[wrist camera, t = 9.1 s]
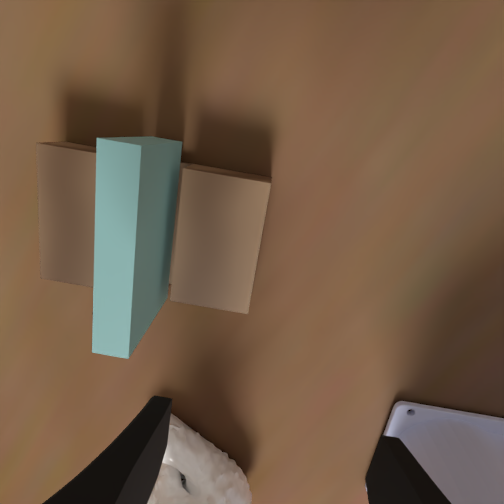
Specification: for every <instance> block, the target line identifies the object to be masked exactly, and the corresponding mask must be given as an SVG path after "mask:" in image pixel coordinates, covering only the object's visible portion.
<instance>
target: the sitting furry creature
mask: <svg viewBox="0 0 504 504" xmlns="http://www.w3.org/2000/svg"><path fill="white" fill-rule="evenodd" d="M181 478H183V479H186V480H183V481H182V482H181ZM251 499H252V493H251V492H250V491H249V484H248V483H247V478H246V476H245V475H244V473H243V472H242V469H241V468H240V467H238V466H237V465H236V462H235V460H233V459H230V458H228V454H227V453H225V452H222V451H221V450H220V449H218V448H216V447H215V446H214V444H213V443H211V442H209V441H207V440H206V439H204V438H203V437H202V436H200V434H199V432H195V431H194V430H193V429H191V428H190V427H189V426H187V425H186V424H185V423H183V422H182V421H181V420H180V419H179V418H178V417H176V416H174V415H173V414H171V416H170V425H169V434H168V443H167V447H166V451H165V454H164V458H163V461H162V465H161V468H160V471H159V475H158V478H157V480H156V483H155V485H154V488H153V490H152V493H151V495H150V498H149V500H148V503H147V504H251V503H252V502H251Z"/></svg>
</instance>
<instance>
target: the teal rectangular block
mask: <svg viewBox="0 0 504 504" xmlns="http://www.w3.org/2000/svg"><path fill="white" fill-rule="evenodd" d="M181 151H182V142H181V141H175V140H169V139H164V138H158V137H152V136H148V137H111V138H97V146H96V194H95V241H94V289H93V336H92V353H98V354H104V355H109V356H115V357H121V358H127V359H129V357H130V356H131V354H132V352H133V351H134V349H135V348H136V346H137V345H138V343H139V341H140V340H141V338H142V337H143V335H144V334H145V332H146V331H147V329H148V327H149V326H150V324H151V323H152V321H153V320H154V318H155V316H156V315H157V313H158V312H159V310H160V309H161V307H162V305H163V304H164V302H165V301H166V299H167V296H168V285H169V275H170V265H171V254H172V244H173V234H174V223H175V213H176V203H177V192H178V182H179V171H180V161H181Z"/></svg>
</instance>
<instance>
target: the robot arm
mask: <svg viewBox="0 0 504 504" xmlns="http://www.w3.org/2000/svg"><path fill="white" fill-rule="evenodd" d="M171 407H172V399H171V398H165V397H159V396H153V397H152V398H151V399H150V400H149V401H148V403H147V404H146V405H145V407H144V408H143V409H142V410H141V411H140V413H139V414H138V415H137V416H136V417H135V418H134V419H133V421H132V422H131V423H130V424H129V425H128V426H127V427H126V428H125V429H124V430H123V432H122V433H121V434H120V435H119V436H118V437H117V438H116V439H115V440H114V441H113V442H112V443H111V444H110V445H109V446H108V447H107V448H106V449H105V450H104V451H103V452H102V453H101V454H100V455H99V456H98V457H97V458H96V459H95V460H94V461H92V462H91V463H90V464H89V465H88V466H87V467H86V468H85V469H84V470H83V471H82V472H80V473H79V474H78V475H77V476H76V477H75V478H74V479H72V480H71V481H70V482H69V483H68V484H66V485H65V486H64V487H63V488H62V489H60V490H59V491H58V492H57V493H55V494H54V495H53V496H52V497H50V498H49V499H48V500H46V501H45V502H44V503H42V504H147V503H148V500H149V498H150V495H151V493H152V490H153V488H154V485H155V483H156V480H157V478H158V475H159V471H160V468H161V465H162V461H163V458H164V454H165V451H166V447H167V443H168V434H169V425H170V416H171ZM410 409H412V410H411V411H408V410H410ZM365 480H366V483H365V488H366V491H367V494H368V500H369V504H504V418H499V417H493V416H487V415H481V414H475V413H470V412H464V411H458V410H452V409H447V408H441V407H435V406H429V405H423V404H418V403H412V402H406V401H399V402H397V403H395V405H394V407H393V409H392V412H391V415H390V418H389V420H388V423H387V426H386V429H385V431H384V434H383V435H381V437H380V440H379V443H378V445H377V448H376V451H375V454H374V456H373V459H372V462H371V465H370V468H369V470H368V473H367V476H366V479H365Z"/></svg>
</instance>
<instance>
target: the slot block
mask: <svg viewBox="0 0 504 504" xmlns="http://www.w3.org/2000/svg"><path fill="white" fill-rule="evenodd" d="M36 158H37V187H38V216H39V245H40V274H41V279H47V280H53V281H58V282H64V283H70V284H76V285H82V286H87V287H93V288H94V241H95V194H96V147H94V146H88V145H82V144H76V143H70V142H45V143H36ZM270 187H271V177H267V176H262V175H256V174H250V173H244V172H238V171H233V170H227V169H221V168H215V167H209V166H204V165H198V164H192V163H186V162H180V171H179V182H178V192H177V203H176V213H175V223H174V234H173V244H172V254H171V265H170V275H169V284H172V286H171V296H170V301H174V302H180V303H186V304H192V305H197V306H203V307H209V308H215V309H221V310H226V311H232V312H238V313H244V314H248V310H249V304H250V299H251V293H252V288H253V282H254V276H255V271H256V265H257V260H258V254H259V249H260V243H261V237H262V232H263V226H264V221H265V215H266V209H267V204H268V198H269V193H270Z"/></svg>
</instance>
